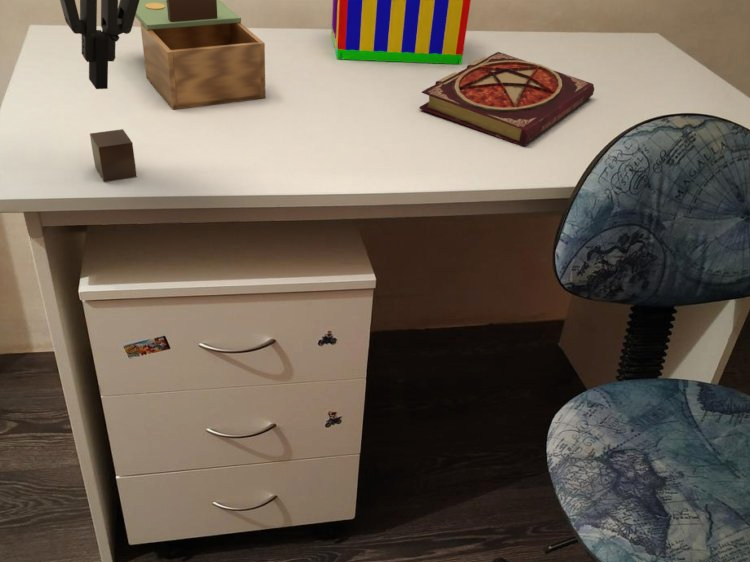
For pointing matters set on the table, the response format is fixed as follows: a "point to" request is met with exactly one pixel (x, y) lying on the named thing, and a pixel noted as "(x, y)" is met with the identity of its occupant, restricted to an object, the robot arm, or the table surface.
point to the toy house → (400, 30)
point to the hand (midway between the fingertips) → (98, 83)
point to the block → (113, 155)
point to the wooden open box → (204, 64)
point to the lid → (183, 13)
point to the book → (507, 97)
